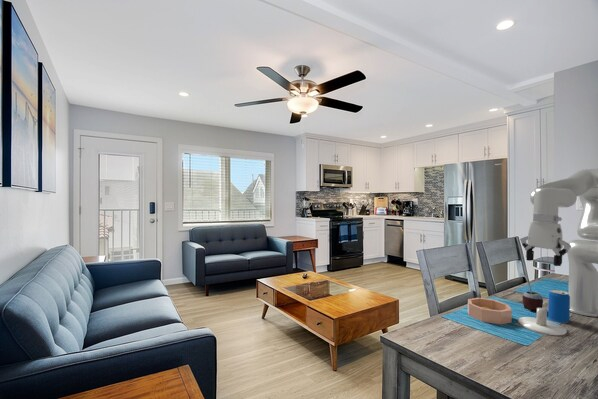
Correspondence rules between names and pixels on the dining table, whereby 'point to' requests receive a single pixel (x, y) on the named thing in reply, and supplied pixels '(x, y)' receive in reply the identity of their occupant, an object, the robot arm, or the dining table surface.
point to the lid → (542, 324)
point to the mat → (534, 331)
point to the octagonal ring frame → (489, 311)
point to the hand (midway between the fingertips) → (543, 262)
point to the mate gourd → (532, 299)
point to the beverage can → (559, 306)
